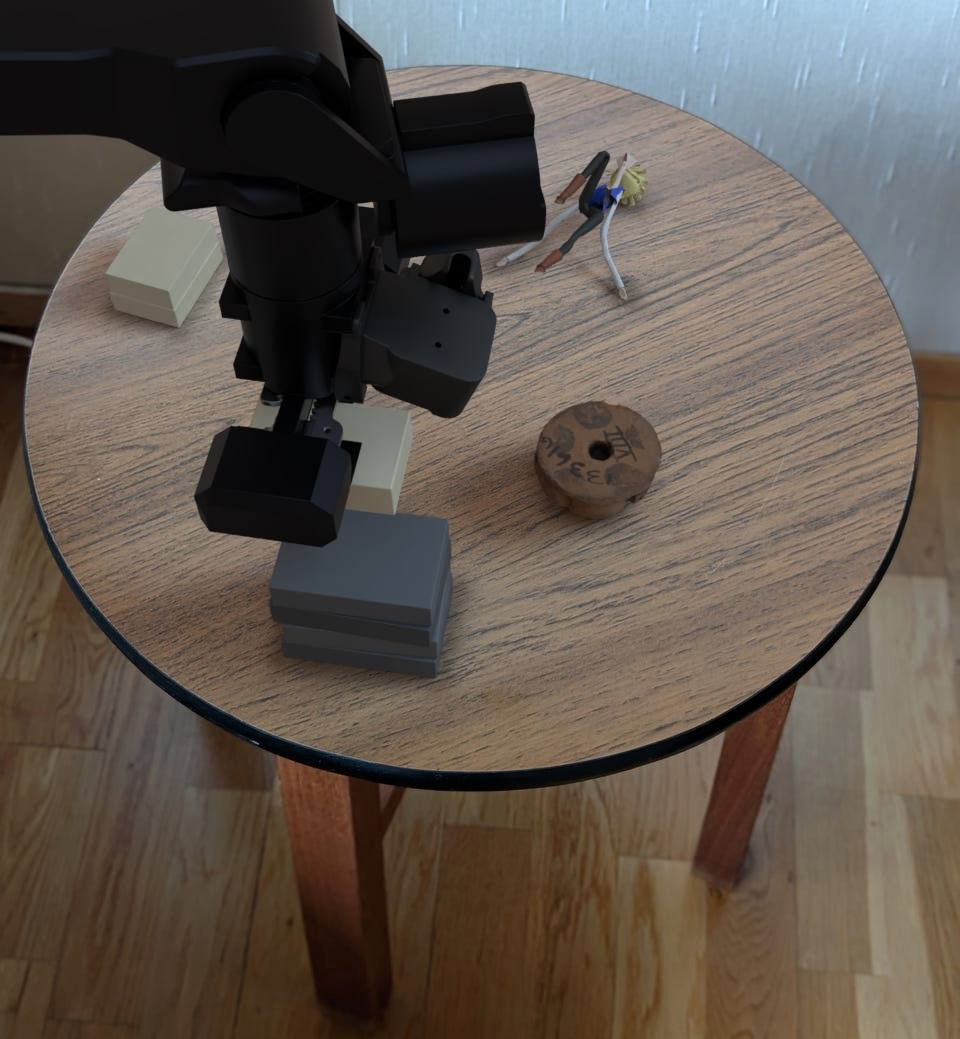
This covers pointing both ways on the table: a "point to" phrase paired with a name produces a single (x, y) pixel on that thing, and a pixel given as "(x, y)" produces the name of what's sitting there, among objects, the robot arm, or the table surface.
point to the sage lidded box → (164, 266)
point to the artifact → (597, 458)
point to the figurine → (593, 208)
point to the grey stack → (367, 594)
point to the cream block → (367, 451)
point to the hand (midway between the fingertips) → (327, 465)
